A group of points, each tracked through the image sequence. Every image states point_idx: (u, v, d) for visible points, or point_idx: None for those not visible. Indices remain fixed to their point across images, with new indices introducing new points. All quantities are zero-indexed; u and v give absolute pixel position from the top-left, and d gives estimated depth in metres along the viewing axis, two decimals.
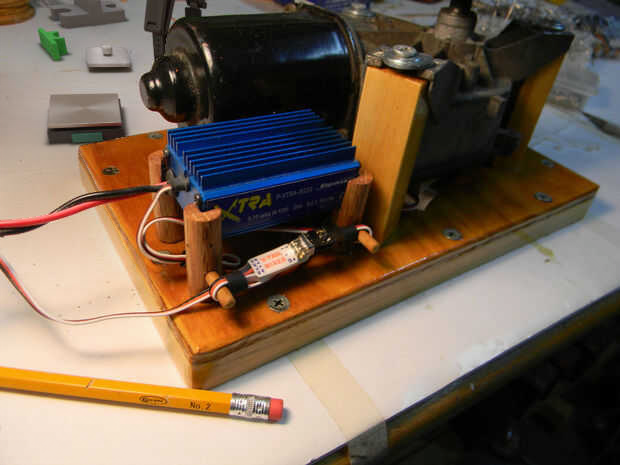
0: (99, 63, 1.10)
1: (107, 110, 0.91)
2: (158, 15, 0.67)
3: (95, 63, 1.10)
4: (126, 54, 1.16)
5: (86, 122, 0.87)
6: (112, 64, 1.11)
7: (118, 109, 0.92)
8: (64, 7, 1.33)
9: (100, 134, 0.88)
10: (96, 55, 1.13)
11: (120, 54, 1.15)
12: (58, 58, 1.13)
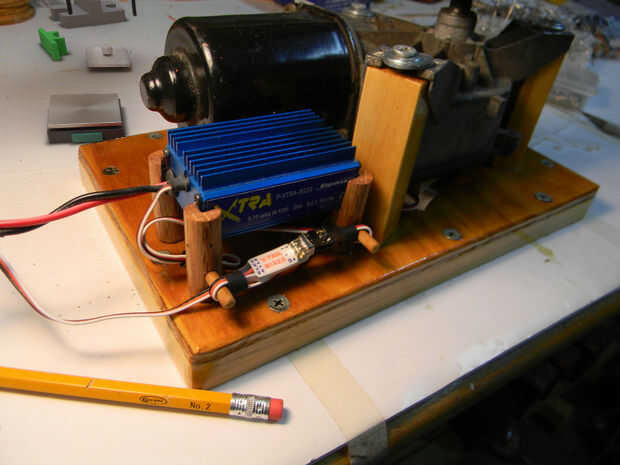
0: (99, 63, 1.10)
1: (107, 110, 0.91)
2: None
3: (95, 63, 1.10)
4: (126, 54, 1.16)
5: (86, 122, 0.87)
6: (112, 64, 1.11)
7: (118, 109, 0.92)
8: (64, 7, 1.33)
9: (100, 134, 0.88)
10: (96, 55, 1.13)
11: (120, 54, 1.15)
12: (58, 58, 1.13)
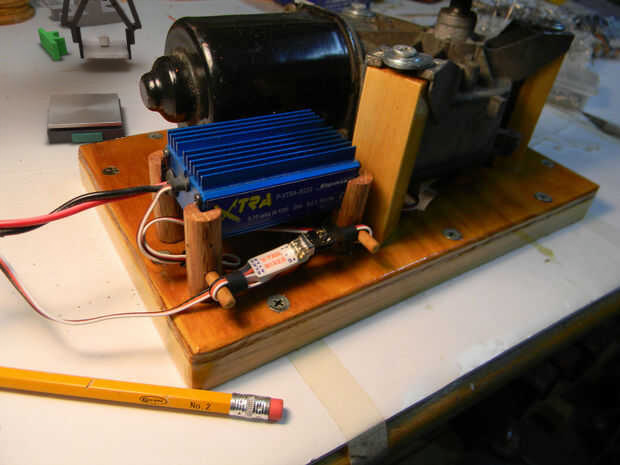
0: (96, 54, 1.09)
1: (107, 110, 0.91)
2: None
3: (92, 54, 1.08)
4: (123, 46, 1.14)
5: (86, 122, 0.87)
6: (109, 55, 1.10)
7: (118, 109, 0.92)
8: None
9: (100, 134, 0.88)
10: (93, 46, 1.11)
11: (117, 46, 1.14)
12: (58, 58, 1.13)
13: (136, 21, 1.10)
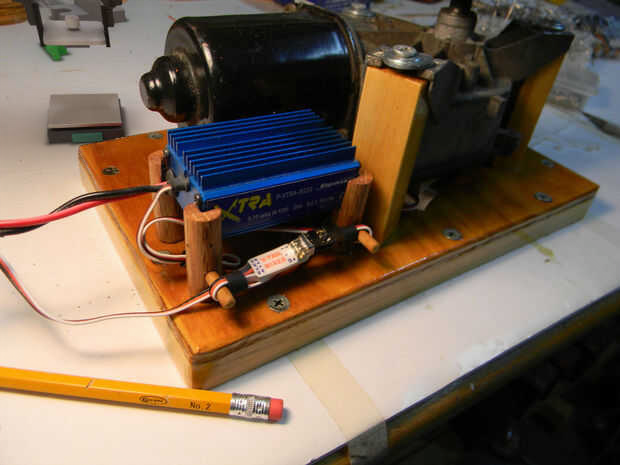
0: (61, 40, 0.80)
1: (107, 110, 0.91)
2: None
3: (55, 40, 0.80)
4: (99, 29, 0.86)
5: (86, 122, 0.87)
6: (79, 41, 0.81)
7: (118, 109, 0.92)
8: (64, 7, 1.33)
9: (100, 134, 0.88)
10: (57, 30, 0.83)
11: (91, 29, 0.85)
12: (58, 58, 1.13)
13: None
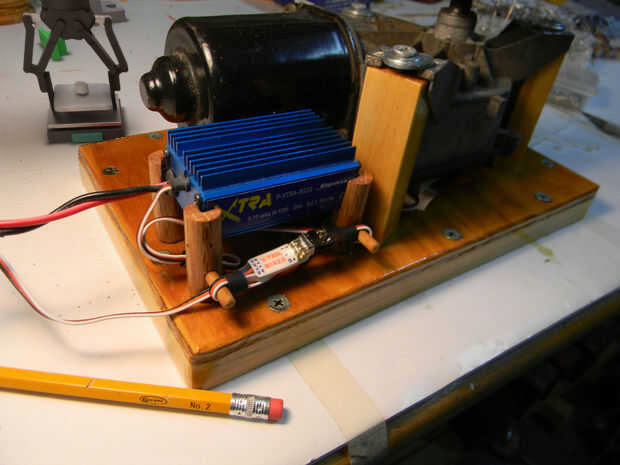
0: (70, 107, 0.85)
1: (107, 111, 0.91)
2: None
3: (65, 107, 0.85)
4: (106, 92, 0.91)
5: (86, 122, 0.87)
6: (87, 107, 0.86)
7: (118, 109, 0.92)
8: None
9: (100, 134, 0.88)
10: (67, 95, 0.88)
11: (99, 93, 0.90)
12: (58, 58, 1.13)
13: (121, 63, 0.87)
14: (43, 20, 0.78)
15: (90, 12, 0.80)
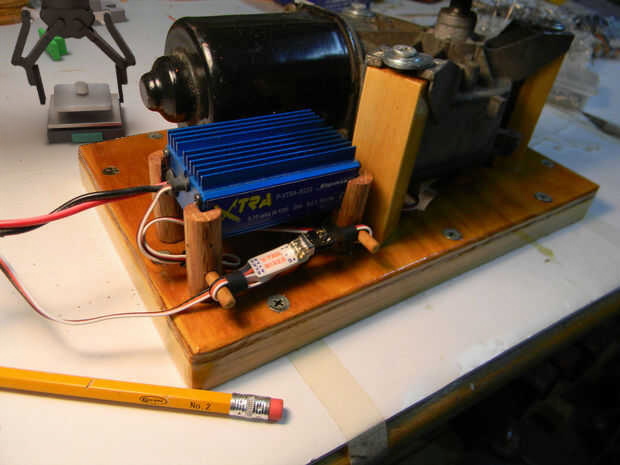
0: (70, 107, 0.85)
1: (107, 111, 0.91)
2: None
3: (65, 107, 0.85)
4: (106, 92, 0.91)
5: (86, 122, 0.87)
6: (87, 107, 0.86)
7: (118, 109, 0.92)
8: None
9: (100, 134, 0.88)
10: (67, 95, 0.88)
11: (99, 93, 0.90)
12: (58, 58, 1.13)
13: (127, 57, 0.87)
14: (42, 18, 0.78)
15: (90, 11, 0.80)
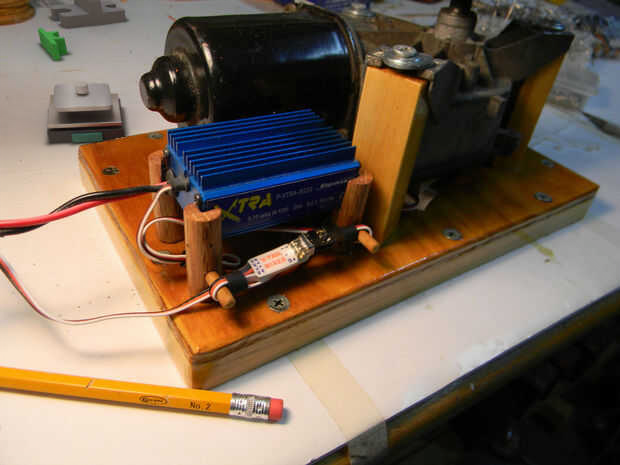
0: (70, 107, 0.85)
1: (107, 111, 0.91)
2: None
3: (65, 107, 0.85)
4: (106, 92, 0.91)
5: (86, 122, 0.87)
6: (87, 107, 0.86)
7: (118, 109, 0.92)
8: (64, 7, 1.33)
9: (100, 134, 0.88)
10: (67, 95, 0.88)
11: (99, 93, 0.90)
12: (58, 58, 1.13)
13: None
14: None
15: None
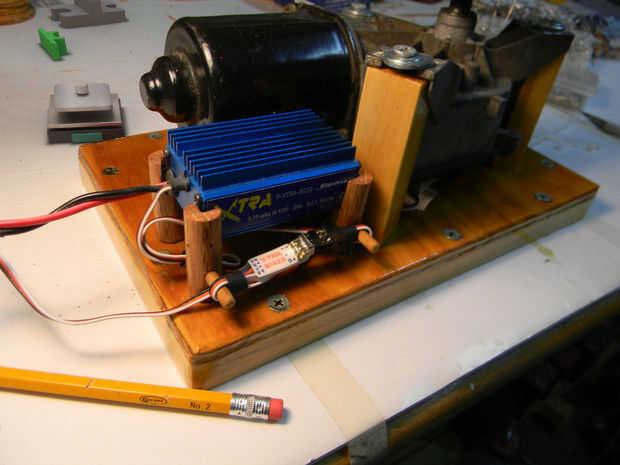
0: (70, 107, 0.85)
1: (107, 111, 0.91)
2: None
3: (65, 107, 0.85)
4: (106, 92, 0.91)
5: (86, 122, 0.87)
6: (87, 107, 0.86)
7: (118, 109, 0.92)
8: (64, 7, 1.33)
9: (100, 134, 0.88)
10: (67, 95, 0.88)
11: (99, 93, 0.90)
12: (58, 58, 1.13)
13: None
14: None
15: None
